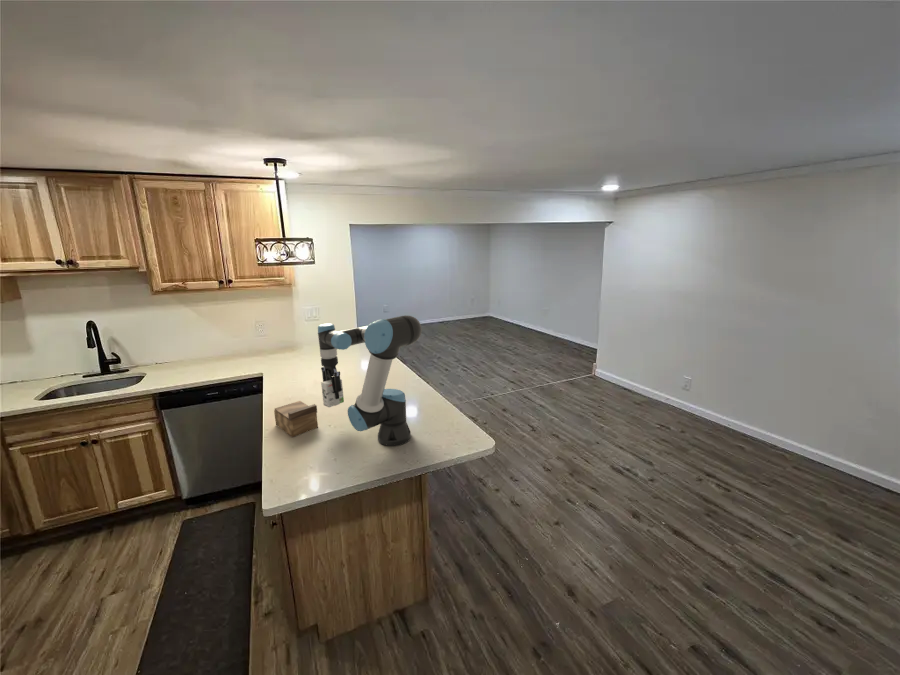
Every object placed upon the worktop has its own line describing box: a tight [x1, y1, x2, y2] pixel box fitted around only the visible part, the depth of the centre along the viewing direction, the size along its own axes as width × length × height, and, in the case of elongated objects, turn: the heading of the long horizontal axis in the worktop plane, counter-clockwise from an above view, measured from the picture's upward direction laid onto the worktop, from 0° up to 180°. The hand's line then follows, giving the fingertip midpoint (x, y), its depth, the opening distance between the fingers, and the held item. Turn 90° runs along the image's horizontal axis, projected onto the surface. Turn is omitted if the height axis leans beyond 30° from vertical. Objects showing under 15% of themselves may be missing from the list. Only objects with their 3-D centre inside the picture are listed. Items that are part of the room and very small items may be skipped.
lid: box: [274, 400, 318, 421], centre depth 194 cm, size 18×13×4 cm
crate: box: [273, 409, 319, 438], centre depth 196 cm, size 18×13×8 cm
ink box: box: [320, 378, 345, 408], centre depth 191 cm, size 9×5×12 cm, turn 139°
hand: (333, 403), depth 192 cm, fingers closed on ink box, 5 cm apart
